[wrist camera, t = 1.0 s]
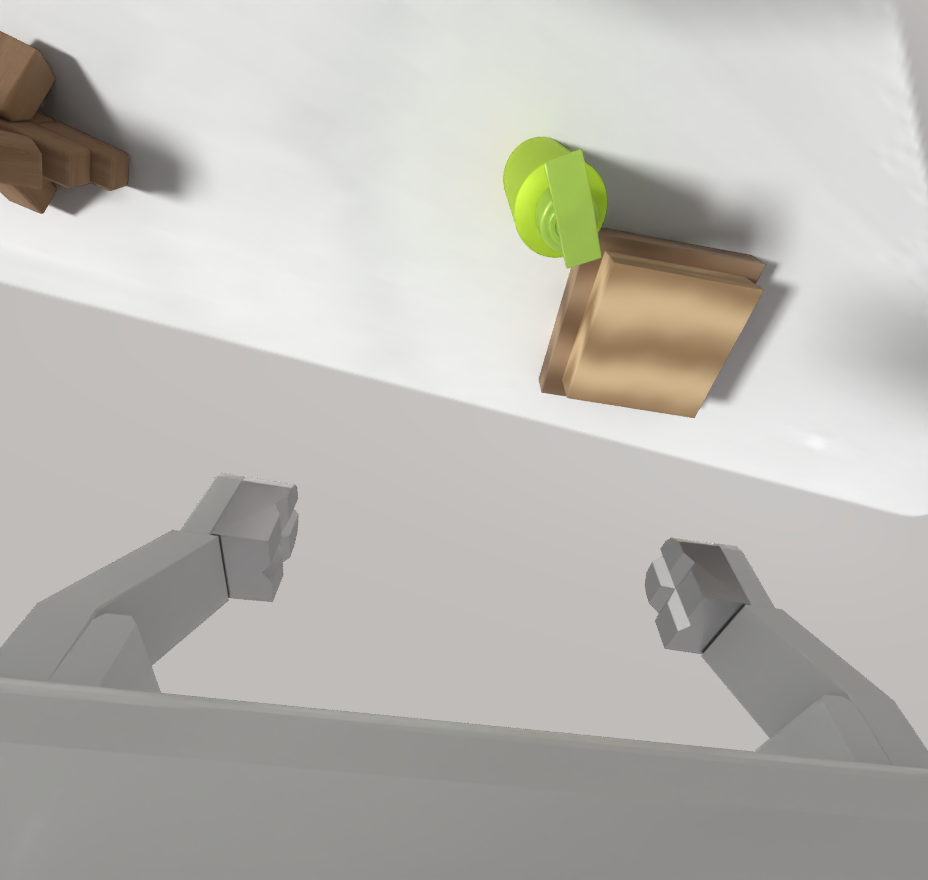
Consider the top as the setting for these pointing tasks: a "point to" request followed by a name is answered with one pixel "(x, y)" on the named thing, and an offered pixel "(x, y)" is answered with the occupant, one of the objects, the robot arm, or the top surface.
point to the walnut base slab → (586, 274)
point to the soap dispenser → (555, 200)
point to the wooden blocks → (44, 137)
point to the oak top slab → (656, 334)
